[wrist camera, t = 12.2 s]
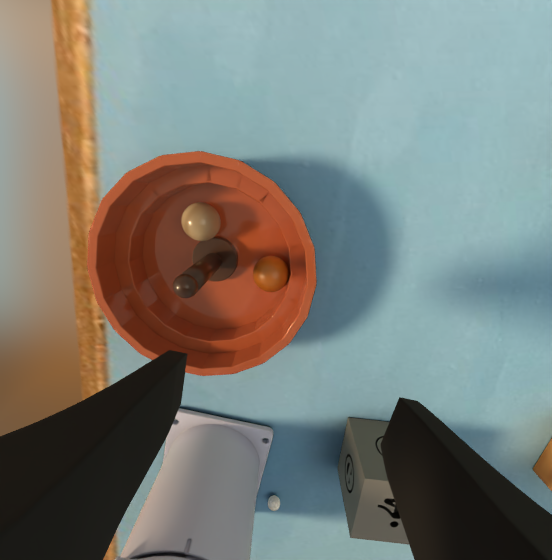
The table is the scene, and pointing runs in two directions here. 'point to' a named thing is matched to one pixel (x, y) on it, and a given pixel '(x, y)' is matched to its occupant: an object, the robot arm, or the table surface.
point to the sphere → (273, 503)
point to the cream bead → (201, 221)
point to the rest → (545, 466)
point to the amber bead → (270, 273)
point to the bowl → (178, 257)
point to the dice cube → (368, 484)
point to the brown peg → (207, 266)
